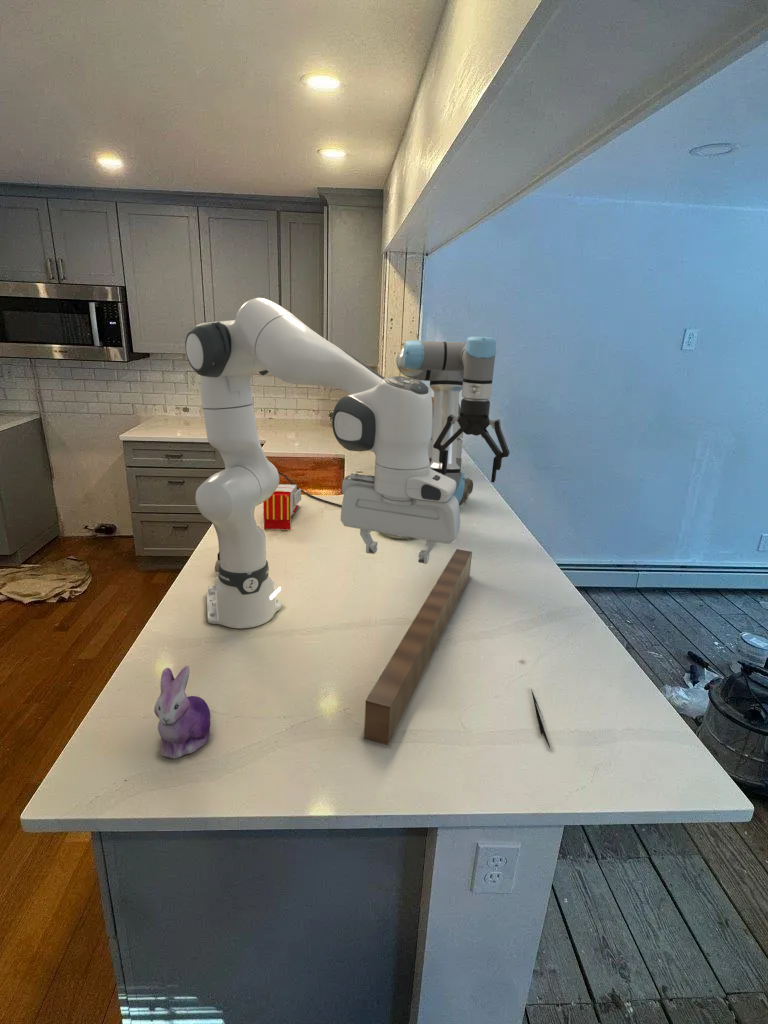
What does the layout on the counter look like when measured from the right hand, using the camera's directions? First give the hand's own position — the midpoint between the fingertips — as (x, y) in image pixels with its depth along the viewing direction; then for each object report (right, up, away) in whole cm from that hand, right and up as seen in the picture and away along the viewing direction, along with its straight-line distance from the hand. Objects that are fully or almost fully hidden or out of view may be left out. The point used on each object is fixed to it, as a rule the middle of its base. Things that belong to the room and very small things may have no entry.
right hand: (468, 477), depth 154 cm
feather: (+8, -48, -38) cm, 62 cm away
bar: (-12, -40, -17) cm, 45 cm away
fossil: (+7, -6, +81) cm, 81 cm away
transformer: (-6, +10, +121) cm, 121 cm away
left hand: (-21, -17, -57) cm, 63 cm away
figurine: (-58, -51, -52) cm, 93 cm away
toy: (-61, -11, +57) cm, 84 cm away
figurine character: (-68, -26, +13) cm, 74 cm away
